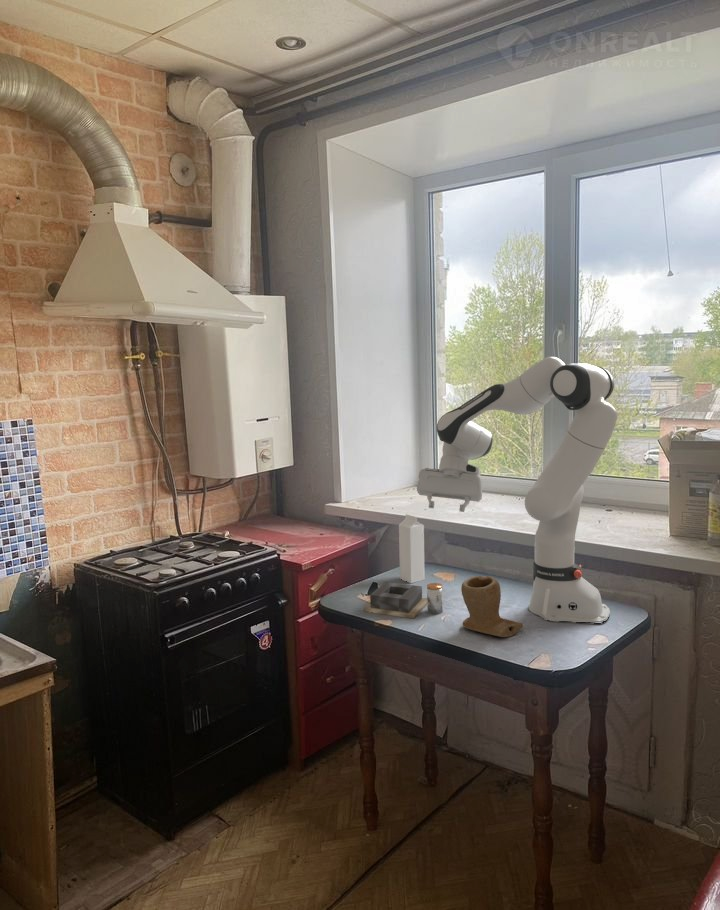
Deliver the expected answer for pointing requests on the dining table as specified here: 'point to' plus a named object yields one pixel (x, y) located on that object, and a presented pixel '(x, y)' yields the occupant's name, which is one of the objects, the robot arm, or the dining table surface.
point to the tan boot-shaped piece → (486, 607)
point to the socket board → (397, 600)
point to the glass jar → (434, 598)
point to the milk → (411, 550)
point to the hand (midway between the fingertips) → (446, 509)
